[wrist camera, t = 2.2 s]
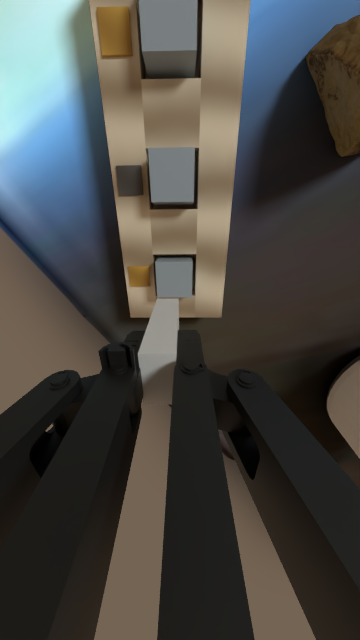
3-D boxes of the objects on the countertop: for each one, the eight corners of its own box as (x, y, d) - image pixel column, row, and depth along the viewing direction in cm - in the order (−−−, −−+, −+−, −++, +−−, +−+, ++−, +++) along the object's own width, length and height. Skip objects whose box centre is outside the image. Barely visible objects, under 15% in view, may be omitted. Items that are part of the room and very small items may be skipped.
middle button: (153, 159, 20) (147, 147, 17) (193, 158, 20) (194, 147, 17) (155, 205, 22) (151, 202, 19) (192, 204, 22) (193, 201, 19)
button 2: (158, 257, 24) (155, 261, 21) (191, 256, 24) (192, 261, 21) (160, 288, 26) (157, 297, 23) (190, 288, 26) (191, 297, 23)
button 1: (145, 9, 16) (136, -43, 13) (195, 8, 16) (198, -44, 13) (149, 81, 17) (141, 51, 14) (194, 80, 17) (196, 50, 14)
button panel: (99, -26, 17) (75, -99, 13) (242, -30, 16) (260, -106, 13) (137, 306, 30) (130, 318, 26) (216, 305, 30) (221, 317, 26)
